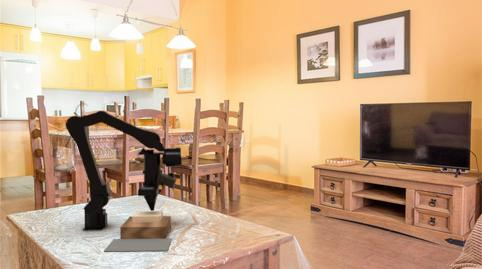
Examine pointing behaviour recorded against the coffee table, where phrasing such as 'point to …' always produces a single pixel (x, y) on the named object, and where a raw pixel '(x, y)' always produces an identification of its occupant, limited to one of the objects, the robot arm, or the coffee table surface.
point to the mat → (138, 245)
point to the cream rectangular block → (147, 216)
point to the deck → (145, 229)
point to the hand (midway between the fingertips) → (152, 210)
